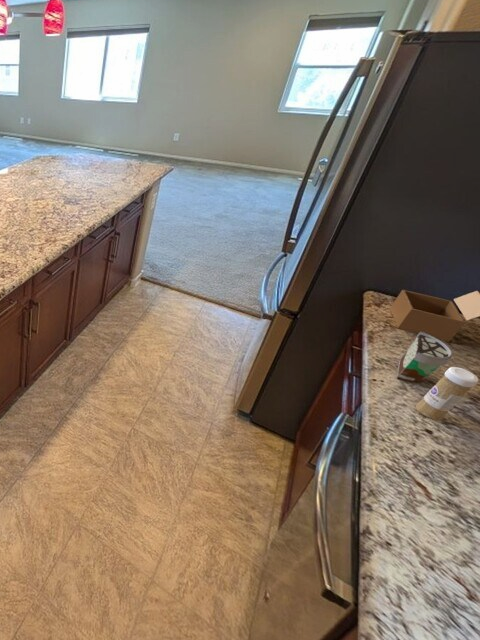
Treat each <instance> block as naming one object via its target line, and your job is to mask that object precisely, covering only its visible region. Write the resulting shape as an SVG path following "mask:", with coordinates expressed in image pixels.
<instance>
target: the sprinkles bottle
mask: <svg viewBox="0 0 480 640" xmlns="http://www.w3.org/2000/svg"><path fill="white" fill-rule="evenodd" d="M479 382H480V379H479V377H478V376H477V375H476V374H474V373H472V372H471V371H469V370H467V369H465V368H462V367H457V366H450V367H449V368H448V369H447V370H446V371H445V372H444V374H443V376H442V377H441V378H440V379H439V380H438V381H437V382H436V384H434V386H433V387H432V388H430V389H429V391H427V393H426V394H425V395H424V397H423V398H422V399H421V400H420V401H419V402H418V403H416V404H415V408H416V410H417V412H419V413H420V414H421V415H422V416H425V417H427V418H428V419H431V420H432V419H433V420H437V421H440V420H443V418H444V416H445V415H446V414H447V413H448V412H450V411H451V410H452V409H453V408H454V407H455V406H456V405H457V404H458V403H459V402H460V401H461V399H463V398H464V396H465V395H466V394H467V393H468V392H469V391H470V390H471V389H472V388H474V387H476V385H477V384H478V383H479Z"/></svg>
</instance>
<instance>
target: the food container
mask: <svg viewBox="0 0 480 640" xmlns="http://www.w3.org/2000/svg"><path fill="white" fill-rule="evenodd" d="M451 359H452V350H451V348H450V347H449V346H448V345H446V344H445V343H444V342H443V341H442V340H440V339H436V338H434V337H432V336H430V335H428V334H426V333H423V332H420V333H419V334H418V333H417V335H416V337H415V338H414V340H413V341H412V342H411V344H410V345H409V347H408V348H407V349H406V351H405V352H404V353H403V355H401V357H400V359H399V361H398V367H397V373H396V380H397V379H398V380H400V381H403V382H407V383H410V384H422V383H423V382H424V381H425V380H427V379H428V377H430V375H432V374H433V373H434V372H435V371H436V370H437V369H439V367H440V366H446V365H448V364H449V363H450V362H451Z"/></svg>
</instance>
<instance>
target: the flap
mask: <svg viewBox="0 0 480 640" xmlns="http://www.w3.org/2000/svg"><path fill="white" fill-rule="evenodd" d="M453 301H454V303H455V304H456V306H457V308H458V309H459V311H460V312H461V314H462V316H463V318H465V320H466V321H467V322H469V321H472V320H475V319H478V318H480V292H479V291H478V290H475V291H473V292H469V293H466V294H463V295H461V296H459V297H455V298H453Z"/></svg>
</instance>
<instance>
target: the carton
mask: <svg viewBox="0 0 480 640" xmlns="http://www.w3.org/2000/svg"><path fill="white" fill-rule="evenodd" d="M454 303H455V302H453V301H452V300H450V299H446V298H440V297H436V296H431V295H427V294H423V293H419V292H415V291H410V290H406V289H402V290H401V291H400V292H399V294H398V295H397V297H396V298H395V299H394V301H393V302H392V303H391V306H389V310H390V312H391V315H392V317H393V319H394V323H395V325H396V328H397V329H399V330H404V331H407V332H410V333H415V334H417V335H418V334H419V333H420V332H423V333H426V334H428V335H430V336H432V337H434V338H436V339H438V340H440V341H444V342H448V343H449V342H450V341H451V340H452V339H453V338H454V337H455V335H456V334H457V333H458V332H459V331H460V330H461V328H462V327H463V326H464V325H465V324H466V321H465V319H464V317H463V315H461V313H460V312H459V311H460V310H458V307H456V305H455V304H454Z"/></svg>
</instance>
